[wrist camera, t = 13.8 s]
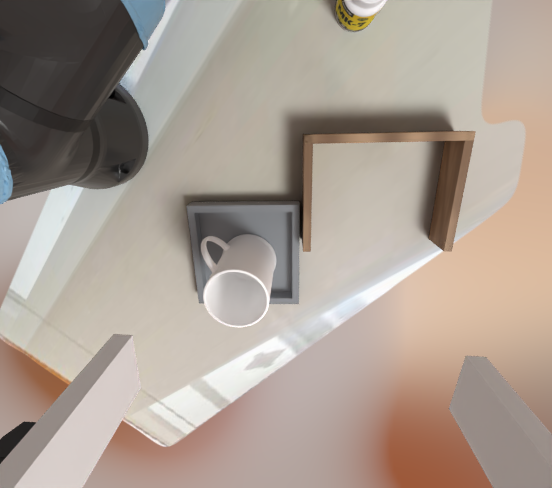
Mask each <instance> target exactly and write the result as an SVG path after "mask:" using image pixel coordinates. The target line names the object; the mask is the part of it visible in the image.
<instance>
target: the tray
mask: <svg viewBox="0 0 552 488" xmlns="http://www.w3.org/2000/svg"><path fill="white" fill-rule="evenodd" d="M187 213H188V221H189V229H190V237H191V245H192V252H193V260H194V268H195V276H196V283H197V291H198V299H199V303H204V300H203V292H204V288H205V286H206V283H207V282H208V280H209V278H210V276H211V274H212V271H211V270H210V268H209V267H208V265H207V264H206V262H205V260H204V258H203V255H202V252H201V243H202V241H203V239H204V238H206V237H208V236H214V237H217V238H219V239H221V240H222V241H224V242H225V243H228V242H229V241H230V240H231V239H233V238H235V237H237V236H239V235H244V234H252V235H256V236H259V237H261V238H263V239H265V240H266V241H267V242H268V243H269V244H270V245H271V246H272V248H273V249H274V251H275V254H276V267H275V270H274V272H273V279H272V286H271V294H270V301H269V304H299V201H236V202H191V203H190V204H188V205H187ZM206 246H207V250H208V253H209V255H210V257H211V258H212V260H213V261H214V263H215V264H216V265H217V264H218V262H219V260H220V258H221V256H222V253H223V250H224V249H223V248H222V247H221V246H219V245H218V244H216V243H214V242H212V241H207V242H206Z"/></svg>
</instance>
